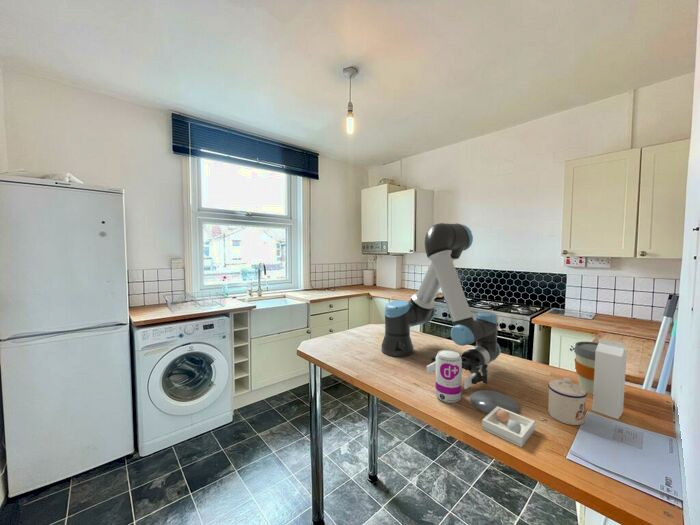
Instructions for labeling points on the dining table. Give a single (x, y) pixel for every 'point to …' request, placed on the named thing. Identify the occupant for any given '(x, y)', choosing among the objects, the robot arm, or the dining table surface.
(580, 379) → the reusable coffee cup
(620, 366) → the milk
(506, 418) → the ball terracotta
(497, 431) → the ball dish
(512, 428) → the ball grey
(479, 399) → the slate coaster
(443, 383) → the supplement can
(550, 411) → the teacup with lid
